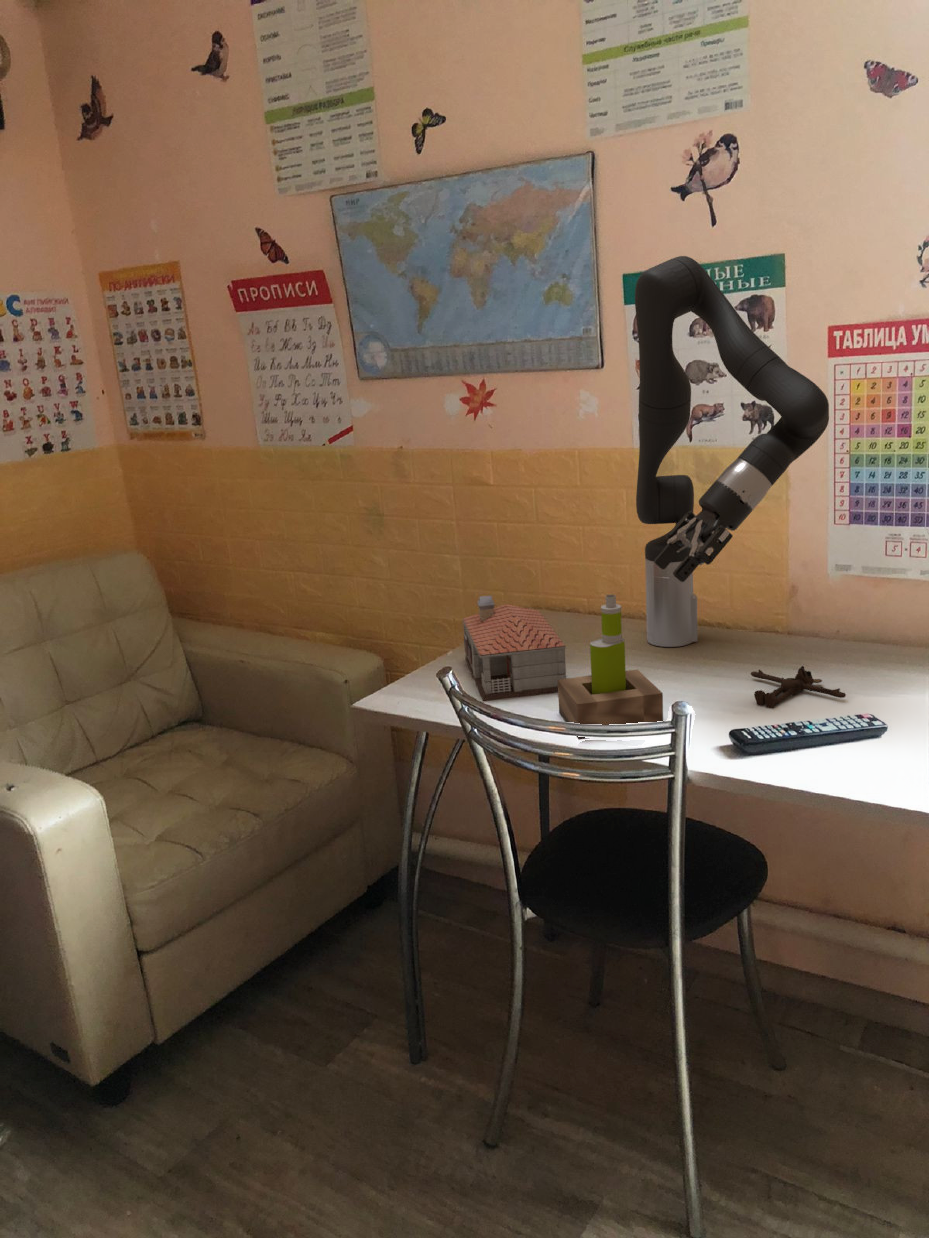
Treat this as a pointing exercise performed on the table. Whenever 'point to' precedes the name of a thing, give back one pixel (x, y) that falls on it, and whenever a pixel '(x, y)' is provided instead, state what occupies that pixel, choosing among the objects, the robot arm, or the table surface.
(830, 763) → the table surface
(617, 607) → the vape
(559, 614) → the table surface
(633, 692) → the dock
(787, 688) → the brown humanoid figurine
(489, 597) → the model house
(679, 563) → the robot arm
